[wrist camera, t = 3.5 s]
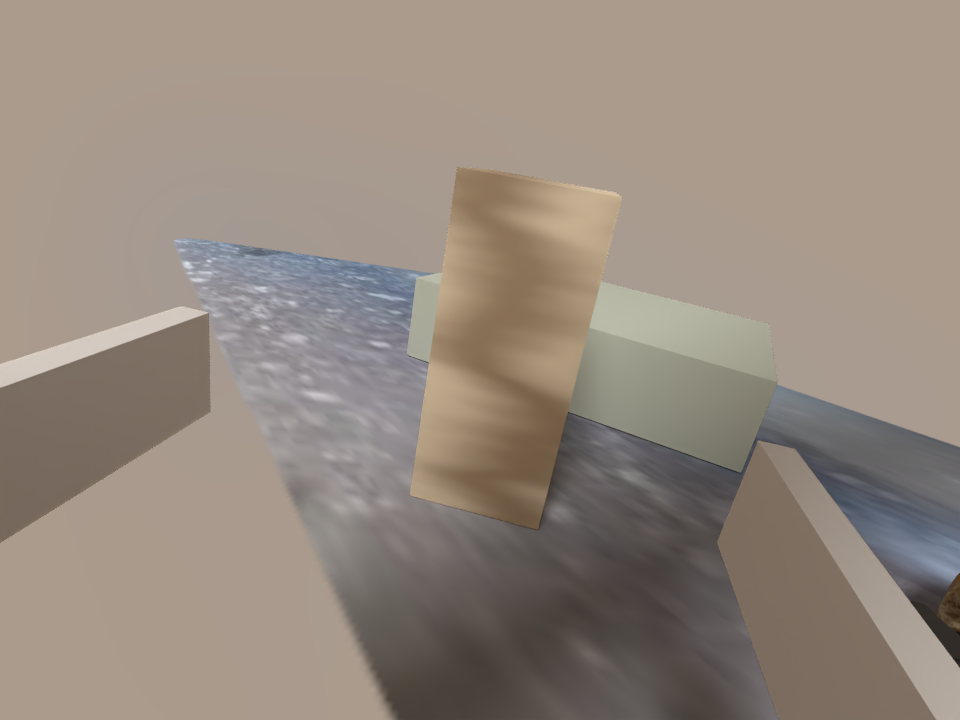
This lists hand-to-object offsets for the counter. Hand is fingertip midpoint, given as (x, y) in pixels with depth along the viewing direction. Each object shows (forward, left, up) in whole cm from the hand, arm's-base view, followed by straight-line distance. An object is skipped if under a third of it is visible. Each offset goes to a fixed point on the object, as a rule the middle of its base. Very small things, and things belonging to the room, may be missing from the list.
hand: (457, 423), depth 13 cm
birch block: (+2, -8, -7) cm, 10 cm away
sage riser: (+2, -24, -7) cm, 25 cm away
